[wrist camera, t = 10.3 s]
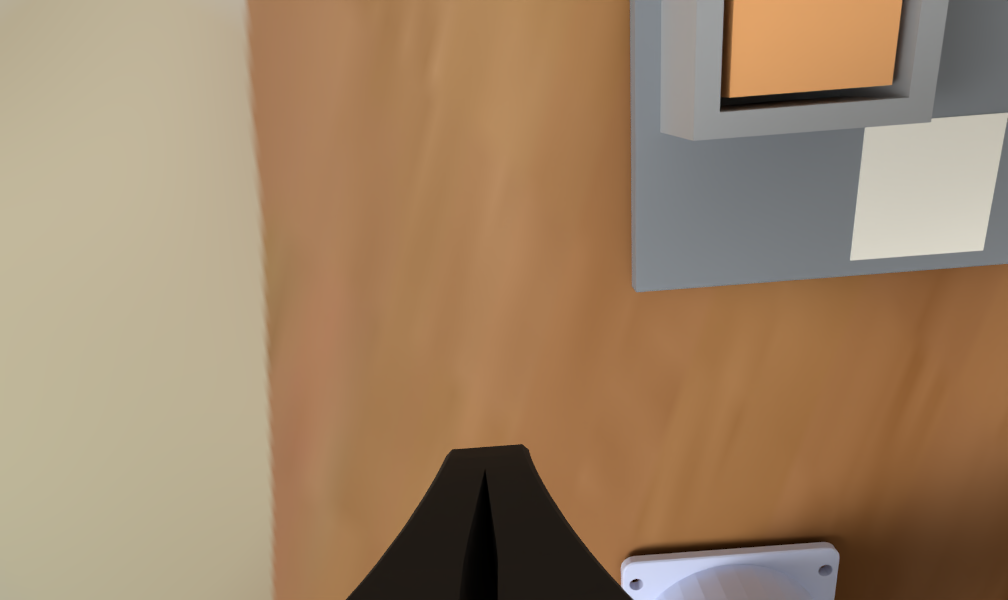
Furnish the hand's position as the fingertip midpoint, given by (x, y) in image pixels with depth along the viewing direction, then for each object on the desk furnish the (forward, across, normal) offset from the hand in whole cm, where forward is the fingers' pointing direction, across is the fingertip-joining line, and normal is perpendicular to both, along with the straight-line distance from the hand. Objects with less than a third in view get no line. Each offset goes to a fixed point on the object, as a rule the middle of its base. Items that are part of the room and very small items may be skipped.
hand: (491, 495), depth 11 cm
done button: (+8, -8, -8) cm, 14 cm away
